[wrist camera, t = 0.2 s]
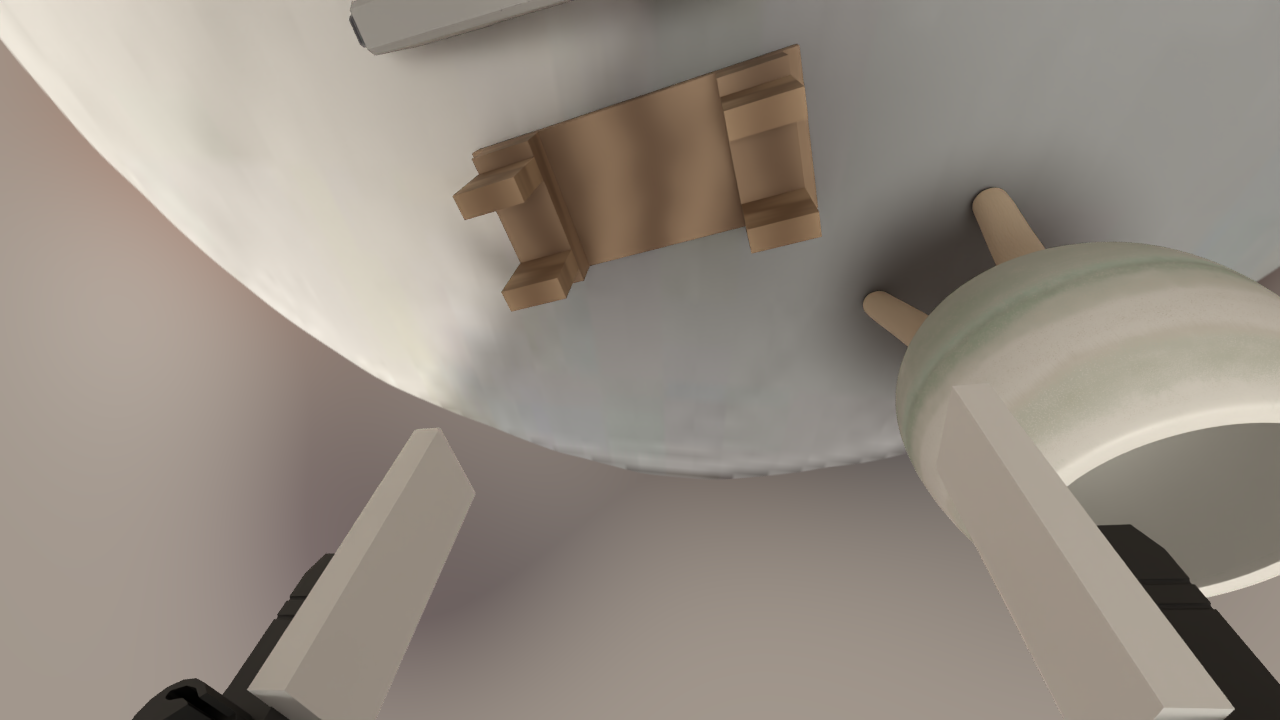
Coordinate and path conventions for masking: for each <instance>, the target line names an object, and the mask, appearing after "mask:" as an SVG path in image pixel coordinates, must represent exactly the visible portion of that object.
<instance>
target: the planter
mask: <svg viewBox="0 0 1280 720" xmlns="http://www.w3.org/2000/svg"><path fill="white" fill-rule="evenodd" d="M972 209H973V212H974V215H975V217H976V219H977V222H978V224H979V226H980V229H981V231H982V234H983V236H984V238H985V241H986V243H987V246H988V248H989V250H990V253H991V255H992V257H993V259H994V261H995V264H996V266H995V267H993V268H991V269H989V270H987V271H985V272H983V273H981V274H979V275H978V276H976V277H974V278H973V279H971V280H969V281H968V282H966V283H965V284H963V285H962V286H961V287H959V288H958V289H956V290H955V291H954V292H953V293H951V294H950V295H949V296H948V297H947V298H946V299H944V300H943V301H942V302H941V303H940V304H939V305H938V306H937V307H936V308H935V309H934V310H933V311H932V312H931V314H930V315H927V314H925V313H924V312H922V311H920V310H918V309H916V308H914V307H912V306H910V305H909V304H907V303H905V302H903V301H901V300H899V299H897V298H895V297H893V296H892V295H890V294H888V293H886V292H883V291H875V292H872V293H870V294H869V295H868V296H866V298H865V299H864V302H863V309H864V311H865V312H866V313H867V314H868V315H869V316H870V317H871V318H872V319H873V320H874V321H876V322H877V323H878V324H880V325H881V326H882V327H884V328H885V329H886V330H888V331H889V332H890V333H892V334H893V335H894V336H895V337H897V338H898V339H899V340H900V341H902V342H903V343H904V344H905V345H907V346H908V348H907V350H906V353H905V355H904V357H903V360H902V363H901V366H900V370H899V374H898V379H897V385H896V414H897V421H898V426H899V430H900V434H901V437H902V440H903V443H904V446H905V449H906V451H907V454H908V456H909V458H910V460H911V462H912V464H913V466H914V468H915V470H916V472H917V474H918V475H919V477H920V479H921V480H922V482H923V484H924V485H925V487H926V488H927V490H928V491H929V492H930V494H931V495H932V497H933V498H934V499H935V501H936V502H937V504H938V505H939V506H940V507H941V509H942V510H943V511H944V512H945V514H946V515H947V516H948V517H949V518H950V519H951V521H952V522H953V523H954V524H955V525H956V526H957V527H958V528H959V529H960V530H961V531H962V532H963V533H964V535H965V536H967V537H968V538H969V539H970V540H971V541H972V542H973V540H972V538H971V536H970V534H969V532H968V530H967V528H966V526H965V525H964V523H963V521H962V519H961V517H960V515H959V513H958V511H957V509H956V507H955V505H954V503H953V501H952V499H951V497H950V495H949V493H948V491H947V489H946V487H945V485H944V483H943V481H942V479H941V477H940V475H939V473H938V471H937V469H936V463H937V459H938V454H939V449H940V444H941V439H942V434H943V429H944V425H945V420H946V415H947V410H948V405H949V400H950V395H951V390H952V386H957V385H970V384H982V383H989V384H990V386H991V387H992V388H993V390H994V391H995V392H996V393H997V395H998V396H999V397H1000V399H1001V400H1002V401H1003V403H1004V404H1005V405H1006V407H1007V408H1008V409H1009V411H1010V412H1011V413H1012V415H1013V416H1014V417H1015V419H1016V420H1017V421H1018V423H1019V424H1020V425H1021V427H1022V428H1023V429H1024V431H1025V432H1026V433H1027V434H1028V436H1029V437H1030V438H1031V440H1032V441H1033V442H1034V444H1035V445H1036V446H1037V448H1038V449H1039V450H1040V452H1041V453H1042V454H1043V456H1044V457H1045V458H1046V460H1047V461H1048V462H1049V464H1050V465H1051V466H1052V468H1053V469H1054V470H1055V472H1056V473H1057V474H1058V475H1059V477H1060V478H1061V479H1062V481H1063V482H1064V483H1065V485H1066V486H1067V487H1068V489H1069V490H1070V491H1071V493H1072V494H1073V495H1074V497H1075V498H1076V499H1077V501H1078V502H1079V503H1080V505H1081V506H1082V507H1083V509H1084V510H1085V511H1086V513H1087V514H1088V515H1089V516H1090V518H1091V519H1092V520H1093V522H1094V523H1095V524H1096V525H1123V524H1131V525H1132V526H1134V527H1135V528H1136V529H1138V530H1139V531H1141V532H1142V533H1143V534H1145V535H1146V536H1148V537H1149V538H1150V539H1152V540H1153V541H1155V542H1156V543H1157V544H1159V545H1160V546H1162V547H1163V548H1164V549H1165V550H1166V551H1167V552H1168V553H1169V554H1170V556H1171V557H1172V558H1173V559H1174V560H1175V561H1176V563H1177V564H1178V565H1179V566H1180V567H1181V568H1182V570H1183V571H1184V572H1185V573H1186V574H1187V576H1188V577H1189V578H1190V582H1191V583H1192V584H1195V585H1196V586H1197V587H1198V589H1199V590H1200V591H1201V592H1202V593H1203V594H1204V596H1205V597H1211V596H1215V595H1219V594H1223V593H1227V592H1231V591H1234V590H1238V589H1241V588H1245V587H1248V586H1251V585H1254V584H1257V583H1260V582H1263V581H1265V580H1268V579H1270V578H1273V577H1276V576H1278V575H1280V297H1279V296H1278V295H1276V294H1275V293H1273V292H1272V291H1270V290H1268V289H1266V288H1265V287H1263V286H1262V285H1260V284H1258V283H1257V282H1255V281H1253V280H1252V279H1250V278H1248V277H1246V276H1244V275H1242V274H1240V273H1238V272H1236V271H1234V270H1232V269H1229V268H1227V267H1225V266H1223V265H1220V264H1218V263H1216V262H1213V261H1210V260H1208V259H1205V258H1202V257H1199V256H1196V255H1193V254H1190V253H1186V252H1182V251H1178V250H1174V249H1170V248H1166V247H1161V246H1155V245H1148V244H1141V243H1129V242H1091V243H1079V244H1071V245H1064V246H1059V247H1054V248H1048V249H1045V248H1044V246H1043V245H1042V243H1041V242H1040V241H1039V239H1038V238H1037V236H1036V235H1035V234H1034V232H1033V231H1032V229H1031V228H1030V226H1029V225H1028V223H1027V222H1026V220H1025V218H1024V217H1023V215H1022V214H1021V212H1020V211H1019V209H1018V208H1017V206H1016V205H1015V203H1014V201H1013V200H1012V199H1011V198H1010V197H1009V195H1008V194H1007V193H1006V192H1005V191H1004V190H1003V189H1000V188H989V189H986V190H984V191H982V192H981V193H980V194H978V196H977V197H976V198H975V200H974V202H973V207H972ZM973 543H974V542H973Z"/></svg>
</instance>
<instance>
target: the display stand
mask: <svg viewBox="0 0 1280 720" xmlns="http://www.w3.org/2000/svg"><path fill="white" fill-rule="evenodd" d="M472 155H473V157H474V158H473V159H472V160H473V163H474V165H475V167H476V169H477V171H478V173H479V175H478V176H476V177H475V178H474V179H473V180H472V181H470V182H469V183H468V184H467V185H465V186H464V187H463V188H462V189H461V190H459V191H458V192H457V193H456V194H455V195H453V198H454V200H455V202H456V204H457V206H458V208H459V210H460V212H461V214H462V216H463V218H464V220H467V219H471V218H474V217H477V216H481V215H484V214H487V213H491V212H494V211H496V212H497V214H498V216H499V218H500V220H501V222H502V224H503V226H504V229H505V231H506V233H507V235H508V237H509V239H510V241H511V243H512V246H513V248H514V250H515V252H516V254H517V256H518V258H519V261H520V265H519V266H518V268H517V269H516V271H515V272H514V274H513V275H512V277H511V278H510V280H509V281H508V283H507V284H506V286H505V287H504V289H503V291H502V294H503V296H504V298H505V300H506V302H507V304H508V306H509V308H510V310H511V311H516V310H520V309H524V308H528V307H532V306H536V305H540V304H545V303H549V302H553V301H557V300H561V299H565V298H567V295H568V293H569V291H570V288H571V286H572V284H573V283H576V282H580V281H584V279H585V276H586V274H587V271H588V269H589V266H591V265H595V264H599V263H603V262H607V261H611V260H614V259H618V258H622V257H626V256H630V255H634V254H638V253H642V252H646V251H650V250H654V249H658V248H661V247H665V246H669V245H673V244H677V243H681V242H685V241H689V240H693V239H697V238H701V237H705V236H708V235H712V234H716V233H720V232H724V231H728V230H732V229H736V228H740V227H744V226H746V231H747V235H748V240H749V243H750V248H751V252H752V253H756V252H760V251H764V250H768V249H772V248H776V247H780V246H785V245H789V244H793V243H797V242H801V241H805V240H809V239H814V238H818V237H822V235H821V226H820V217H819V211H818V209H817V208H818V204H817V195H816V186H815V177H814V169H813V160H812V151H811V143H810V134H809V125H808V113H807V104H806V95H805V86H804V82H803V73H802V64H801V56H800V47H799V45H798V44H795V45H792V46H789V47H786V48H783V49H780V50H777V51H774V52H771V53H768V54H765V55H762V56H759V57H756V58H753V59H750V60H747V61H744V62H741V63H738V64H735V65H732V66H729V67H726V68H723V69H720V70H717V71H714V72H711V73H708V74H705V75H702V76H699V77H696V78H693V79H690V80H687V81H684V82H681V83H678V84H675V85H672V86H669V87H666V88H663V89H660V90H657V91H654V92H651V93H648V94H645V95H642V96H639V97H636V98H633V99H630V100H627V101H624V102H621V103H618V104H615V105H612V106H609V107H606V108H603V109H600V110H597V111H594V112H591V113H588V114H585V115H582V116H579V117H576V118H573V119H570V120H567V121H564V122H561V123H558V124H555V125H552V126H549V127H546V128H543V129H540V130H537V131H534V132H531V133H528V134H525V135H522V136H519V137H516V138H513V139H510V140H507V141H503V142H500V143H497V144H494V145H491V146H488V147H485V148H482V149H479V150H477V151H475V152H474V153H473V154H472Z"/></svg>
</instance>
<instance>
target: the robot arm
mask: <svg viewBox="0 0 1280 720" xmlns="http://www.w3.org/2000/svg"><path fill="white" fill-rule="evenodd" d="M936 469H937V471H938V473H939V475H940V477H941V479H942V481H943V483H944V485H945V487H946V489H947V491H948V493H949V495H950V497H951V499H952V501H953V503H954V505H955V507H956V509H957V511H958V513H959V515H960V517H961V519H962V521H963V523H964V525H965V526H966V528H967V530H968V532H969V534H970V536H971V538H972V540H973V542H974V544H975V546H976V548H977V550H978V552H979V554H980V556H981V558H982V560H983V562H984V564H985V566H986V568H987V570H988V572H989V574H990V575H991V578H992V580H993V582H994V584H995V586H996V587H997V589H998V591H999V593H1000V595H1001V597H1002V599H1003V601H1004V603H1005V605H1006V607H1007V609H1008V611H1009V613H1010V615H1011V617H1012V619H1013V621H1014V623H1015V625H1016V627H1017V629H1018V631H1019V633H1020V635H1021V637H1022V638H1023V640H1024V643H1025V645H1026V646H1027V648H1028V650H1029V652H1030V654H1031V656H1032V658H1033V660H1034V662H1035V664H1036V666H1037V668H1038V670H1039V672H1040V674H1041V676H1042V678H1043V680H1044V682H1045V684H1046V686H1047V688H1048V690H1049V692H1050V694H1051V696H1052V697H1053V700H1054V702H1055V703H1056V706H1057V708H1058V709H1059V711H1060V713H1061V715H1062V717H1063V719H1064V720H1280V684H1279V683H1278V682H1277V681H1276V679H1274V677H1273V676H1272V675H1271V674H1270V672H1269V671H1268V670H1267V669H1266V668H1265V666H1264V665H1263V664H1262V663H1261V662H1260V660H1259V659H1258V658H1257V657H1256V656H1255V655H1254V653H1253V652H1252V651H1251V650H1250V649H1249V648H1248V646H1247V645H1246V644H1245V643H1244V642H1243V640H1242V639H1241V638H1240V637H1239V636H1238V635H1237V633H1236V632H1235V631H1234V630H1233V629H1232V627H1231V626H1230V625H1229V624H1228V623H1227V622H1226V620H1225V619H1224V618H1223V617H1222V616H1221V614H1220V613H1219V612H1218V611H1217V610H1216V609H1213V608H1212V607H1211V605H1210V604H1211V603H1210V601H1209V600H1208V599H1207V598H1206V597H1205V596H1204V594H1203V593H1202V592H1201V591H1200V590H1199V589H1198V587H1197V586H1196V585H1195V584H1192V583H1191V582H1190V578H1189V577H1188V576H1187V574H1186V573H1185V572H1184V571H1183V570H1182V568H1181V567H1180V566H1179V565H1178V564H1177V563H1176V561H1175V560H1174V559H1173V558H1172V557H1171V556H1170V554H1169V553H1168V552H1167V551H1166V550H1165V549H1164V548H1163V547H1162V546H1160V545H1159V544H1157V543H1156V542H1155V541H1153V540H1152V539H1150V538H1149V537H1148V536H1146V535H1145V534H1143V533H1142V532H1141V531H1139V530H1138V529H1136V528H1135V527H1134V526H1132V525H1131V524H1123V525H1096V524H1095V523H1094V522H1093V520H1092V519H1091V518H1090V516H1089V515H1088V514H1087V513H1086V511H1085V510H1084V509H1083V507H1082V506H1081V505H1080V503H1079V502H1078V501H1077V499H1076V498H1075V497H1074V495H1073V494H1072V493H1071V491H1070V490H1069V489H1068V487H1067V486H1066V485H1065V483H1064V482H1063V481H1062V479H1061V478H1060V477H1059V475H1058V474H1057V473H1056V472H1055V470H1054V469H1053V468H1052V466H1051V465H1050V464H1049V462H1048V461H1047V460H1046V458H1045V457H1044V456H1043V454H1042V453H1041V452H1040V450H1039V449H1038V448H1037V446H1036V445H1035V444H1034V442H1033V441H1032V440H1031V438H1030V437H1029V436H1028V434H1027V433H1026V432H1025V431H1024V429H1023V428H1022V427H1021V425H1020V424H1019V423H1018V421H1017V420H1016V419H1015V417H1014V416H1013V415H1012V413H1011V412H1010V411H1009V409H1008V408H1007V407H1006V405H1005V404H1004V403H1003V401H1002V400H1001V399H1000V397H999V396H998V395H997V393H996V392H995V391H994V390H993V388H992V387H991V386H990V384H989V383H982V384H970V385H957V386H952V390H951V395H950V400H949V405H948V410H947V415H946V420H945V425H944V429H943V434H942V439H941V444H940V449H939V454H938V459H937V463H936ZM474 496H475V491H474V489H473V488H472V486H471V484H470V482H469V480H468V478H467V476H466V475H465V473H464V471H463V469H462V467H461V466H460V464H459V462H458V460H457V458H456V456H455V454H454V452H453V451H452V449H451V447H450V445H449V443H448V441H447V440H446V438H445V436H444V434H443V432H442V431H441V429H440V428H429V429H416V430H415V431H414V432H413V434H412V435H411V437H410V439H409V440H408V442H407V443H406V445H405V446H404V448H403V449H402V451H401V452H400V454H399V455H398V457H397V459H396V460H395V462H394V463H393V465H392V466H391V468H390V469H389V471H388V472H387V474H386V476H385V477H384V479H383V480H382V482H381V483H380V485H379V486H378V488H377V489H376V491H375V493H374V494H373V496H372V497H371V499H370V500H369V502H368V504H367V505H366V506H365V508H364V510H363V511H362V513H361V514H360V516H359V517H358V519H357V520H356V522H355V524H354V525H353V527H352V528H351V530H350V531H349V533H348V534H347V536H346V538H345V539H344V541H343V542H342V544H341V545H340V547H339V548H338V550H337V551H336V553H334V554H325V555H324V556H323V557H322V558H321V559H320V560H319V561H318V562H317V563H316V564H315V565H314V566H312V567H311V569H309V570H308V571H307V572H306V573H305V575H304V576H303V577H302V579H301V580H300V582H299V584H298V585H297V586H296V588H295V589H294V591H293V592H292V594H291V595H290V600H289V601H286V603H285V604H284V606H283V607H282V609H281V610H280V611H279V613H278V614H277V615H278V617H277V619H274V620H273V622H272V623H271V625H270V626H269V628H268V629H267V631H266V632H265V634H264V635H263V637H262V638H261V639H260V641H259V642H258V644H257V646H256V647H255V648H254V650H253V651H252V653H251V654H250V656H249V657H248V659H247V660H246V662H245V663H244V665H243V666H242V668H241V669H240V671H239V672H238V674H237V675H236V676H235V678H234V680H233V681H232V683H231V684H230V685H229V687H228V688H227V689H226V691H225V692H224V693H223V695H221V694H220V693H218V692H217V691H215V690H214V689H213V688H211V687H210V686H208V685H207V684H206V683H204V682H202V681H200V680H198V679H196V678H195V679H187V680H182V681H180V682H178V683H175V684H173V685H171V686H169V687H167V688H166V689H164V690H163V691H162V692H160V693H159V694H157V695H156V696H155V697H153V698H152V699H151V700H150V701H149V702H148V703H147V704H146V705H145V706H144V707H143V708H142V709H141V710H140V711H139V712H138V713H137V714H136V715H135V716H134V718H133V719H132V720H376V718H377V715H378V713H379V711H380V709H381V706H382V704H383V702H384V700H385V697H386V695H387V693H388V691H389V688H390V686H391V684H392V681H393V679H394V677H395V675H396V672H397V670H398V668H399V666H400V663H401V661H402V659H403V657H404V654H405V652H406V650H407V648H408V645H409V643H410V640H411V639H412V636H413V634H414V632H415V629H416V627H417V625H418V623H419V620H420V618H421V616H422V613H423V611H424V609H425V607H426V605H427V602H428V600H429V598H430V596H431V593H432V591H433V589H434V586H435V584H436V582H437V580H438V577H439V575H440V573H441V570H442V568H443V566H444V564H445V562H446V559H447V557H448V555H449V553H450V550H451V548H452V546H453V543H454V541H455V539H456V536H457V534H458V532H459V530H460V527H461V525H462V523H463V521H464V519H465V516H466V514H467V512H468V510H469V507H470V505H471V503H472V500H473V498H474Z"/></svg>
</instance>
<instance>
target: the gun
mask: <svg viewBox="0 0 1280 720" xmlns="http://www.w3.org/2000/svg"><path fill="white" fill-rule="evenodd" d="M570 1H573V0H355V1H352V4H351V9H350V11H351V16H350V18H349V21H350V23H351V25H352V27H353V30H354V32H355V34H356V36H357V39H358V41H359V43H360V45H362V46H363V47H364V48H365V47H366V48H367V49H368V50H369V51H370V52H372V53H373V54H374V55H380V54H385V53H389V52H394V51H399V50H404V49H408V48H413V47H418V46H421V45H424V44H428V43H431V42H435V41H438V40H442V39H445V38H449V37H452V36H456V35H459V34H463V33H466V32H470V31H473V30H477V29H480V28H483V27H487V26H490V25H492V24H494V23H497V22H500V21H504V20H507V19H511V18H514V17H518V16H521V15H525V14H528V13H532V12H535V11H539V10H542V9H545V8H549V7H552V6H556V5H559V4H563V3H566V2H570Z"/></svg>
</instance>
